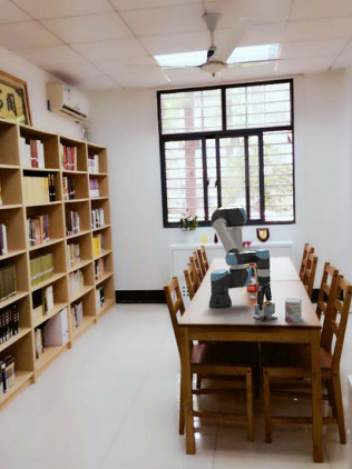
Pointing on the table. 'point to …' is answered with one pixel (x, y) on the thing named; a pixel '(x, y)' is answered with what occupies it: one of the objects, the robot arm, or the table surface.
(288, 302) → the ink box
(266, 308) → the link
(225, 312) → the table surface
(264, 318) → the post
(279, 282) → the table surface
